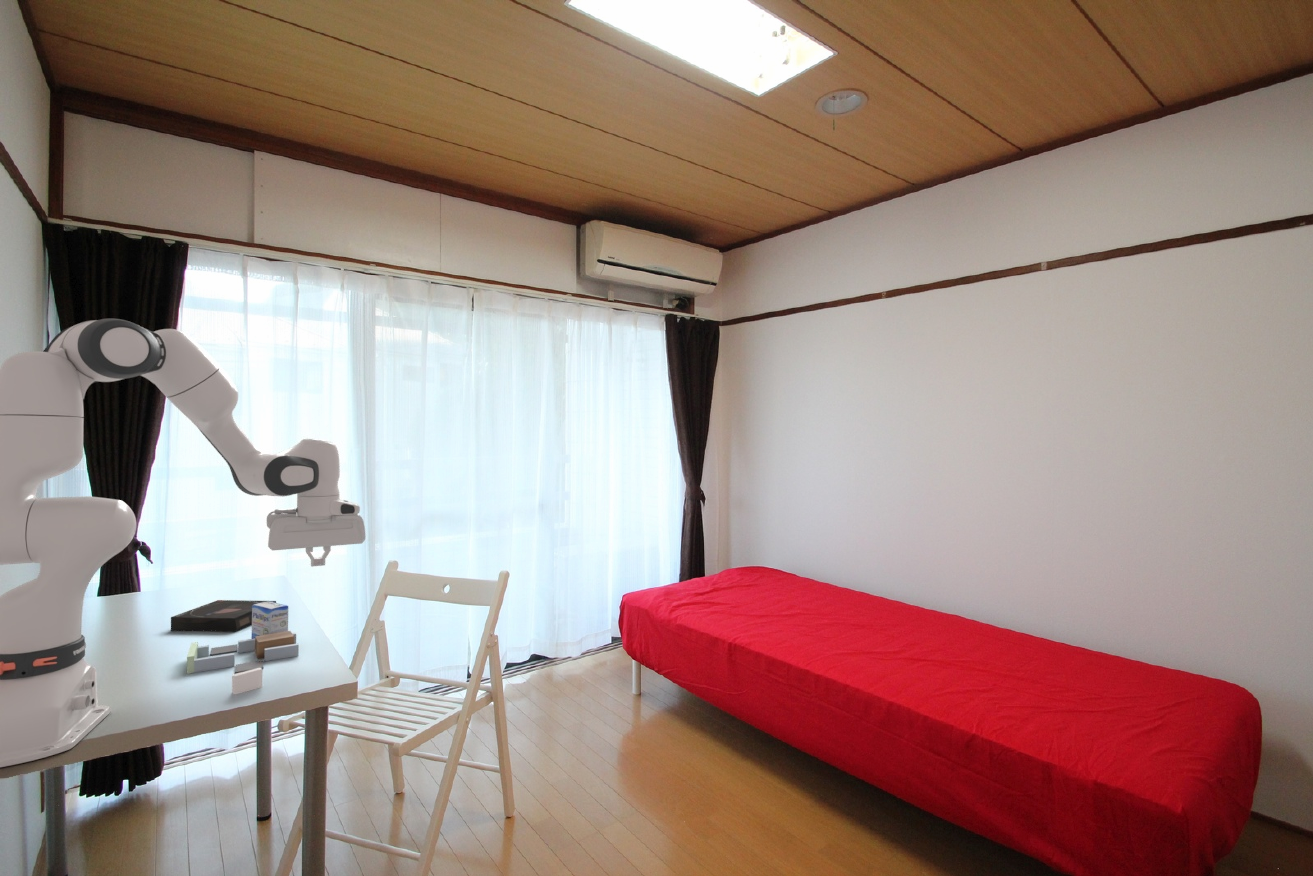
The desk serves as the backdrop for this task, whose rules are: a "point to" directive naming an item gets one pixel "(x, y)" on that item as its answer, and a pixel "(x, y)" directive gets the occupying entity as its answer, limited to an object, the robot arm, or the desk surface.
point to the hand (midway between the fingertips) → (318, 565)
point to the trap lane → (202, 661)
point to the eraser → (246, 681)
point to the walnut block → (272, 642)
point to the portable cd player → (216, 617)
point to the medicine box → (269, 618)
